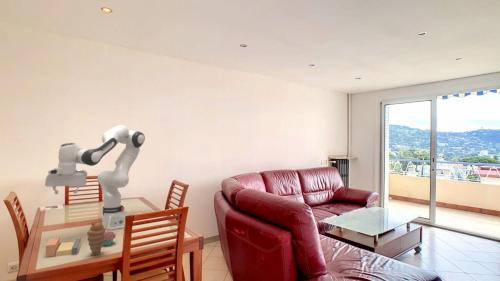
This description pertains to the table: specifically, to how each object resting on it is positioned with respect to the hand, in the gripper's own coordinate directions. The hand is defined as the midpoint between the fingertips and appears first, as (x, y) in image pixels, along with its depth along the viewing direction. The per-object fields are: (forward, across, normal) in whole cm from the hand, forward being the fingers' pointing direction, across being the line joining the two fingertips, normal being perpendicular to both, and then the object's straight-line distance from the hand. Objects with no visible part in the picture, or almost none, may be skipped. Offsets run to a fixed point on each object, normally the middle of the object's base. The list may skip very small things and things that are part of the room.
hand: (66, 193), depth 158 cm
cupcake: (+30, -24, +11) cm, 39 cm away
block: (+30, +3, +13) cm, 32 cm away
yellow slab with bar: (+29, -4, +13) cm, 32 cm away
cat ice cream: (+30, -19, +24) cm, 42 cm away
